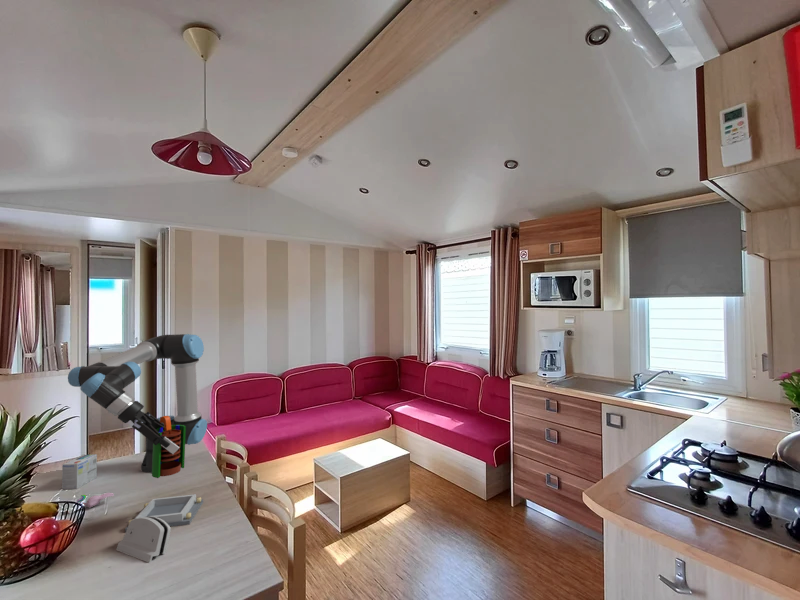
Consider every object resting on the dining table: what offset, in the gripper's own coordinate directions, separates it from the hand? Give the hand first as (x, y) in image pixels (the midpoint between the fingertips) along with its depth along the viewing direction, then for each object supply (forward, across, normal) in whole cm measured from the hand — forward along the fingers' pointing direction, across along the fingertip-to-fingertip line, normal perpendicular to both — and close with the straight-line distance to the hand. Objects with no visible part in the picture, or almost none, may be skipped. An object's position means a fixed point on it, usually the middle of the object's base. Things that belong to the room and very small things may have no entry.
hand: (178, 447), depth 134 cm
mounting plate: (+15, 0, -20) cm, 25 cm away
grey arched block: (+14, +18, -22) cm, 31 cm away
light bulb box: (-14, -46, -49) cm, 69 cm away
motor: (+4, 0, -9) cm, 9 cm away
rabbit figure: (-5, -19, -41) cm, 46 cm away
